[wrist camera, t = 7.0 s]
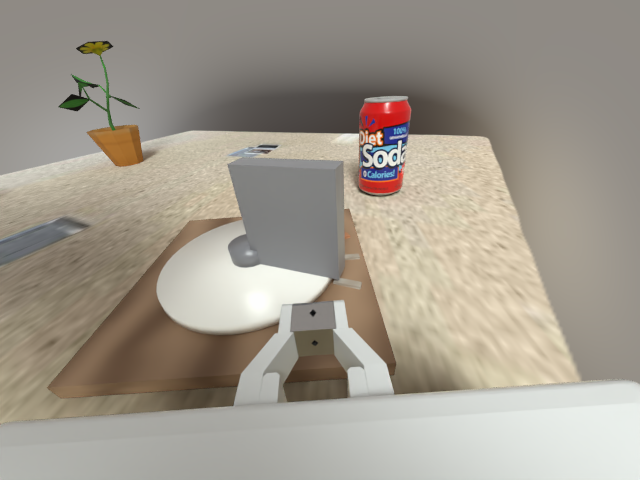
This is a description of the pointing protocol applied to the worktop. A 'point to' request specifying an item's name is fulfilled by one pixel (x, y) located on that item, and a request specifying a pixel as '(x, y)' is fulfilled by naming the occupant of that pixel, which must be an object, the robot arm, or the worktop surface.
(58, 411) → the worktop surface
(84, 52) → the potted plant
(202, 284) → the dial
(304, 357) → the dial board
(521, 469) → the robot arm
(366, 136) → the soda can
